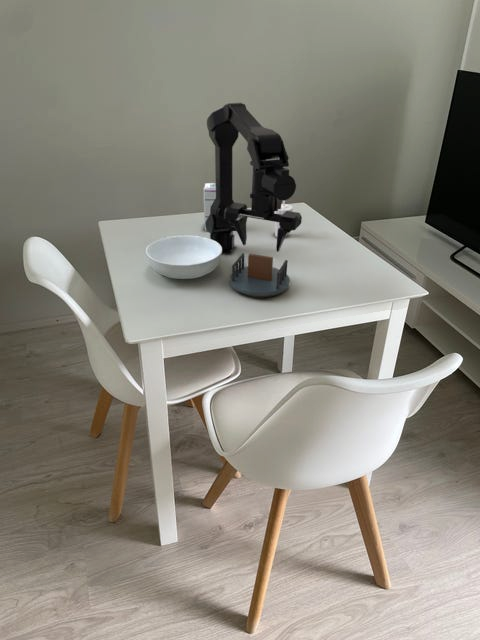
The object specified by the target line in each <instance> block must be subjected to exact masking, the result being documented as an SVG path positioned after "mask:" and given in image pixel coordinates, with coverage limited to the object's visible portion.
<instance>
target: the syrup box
mask: <svg viewBox="0 0 480 640" xmlns="http://www.w3.org/2000/svg"><path fill="white" fill-rule="evenodd" d="M202 190H203V220H204V222H203V224H204V226H203V227H204V231H205V232H208V231H207V230H206V226H205V222H206V220H207V218H208V217H209V215H210V208H211V205H212V204H213V202H214V200H215V198H216V182H207V183H204V185H203V189H202Z"/></svg>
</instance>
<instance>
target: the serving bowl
mask: <svg viewBox="0 0 480 640" xmlns="http://www.w3.org/2000/svg"><path fill="white" fill-rule="evenodd" d="M145 254H146V259H147V261H148V264H149V266H150V267H151V268H152V269H153V270H154V271H155V272H156V273H158V274H160V275H161V276H164V277H166V278H170V279H177V280H190V279H197V278H200V277H203V276H206V275H208V274H210V273H212V272H213V271H214V270H215V269H216V268H217V266H218V265H219V264H220V262H221V259H222V255H223V253H222V247H221V245H220V244H219V243H217V242H216V241H214V240H212V239H210V238H208V237H204V236H200V235H191V234H189V235H183V234H182V235H173V236H166V237H162V238H159V239H157V240H154V241H153V242H151V243H150V244H148V245H147V247H146V249H145Z"/></svg>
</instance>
